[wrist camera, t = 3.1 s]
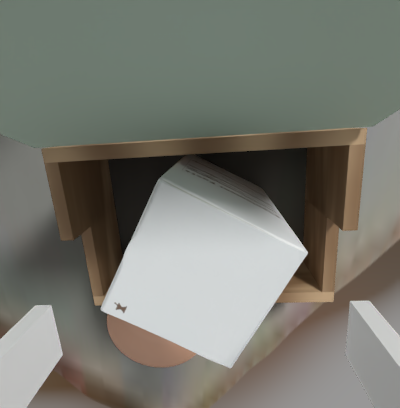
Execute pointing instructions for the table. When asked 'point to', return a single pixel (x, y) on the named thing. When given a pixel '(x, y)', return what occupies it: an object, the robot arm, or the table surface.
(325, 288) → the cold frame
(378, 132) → the table surface
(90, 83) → the sage green board
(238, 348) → the supplement box
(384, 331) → the robot arm
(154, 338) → the tan round disc
